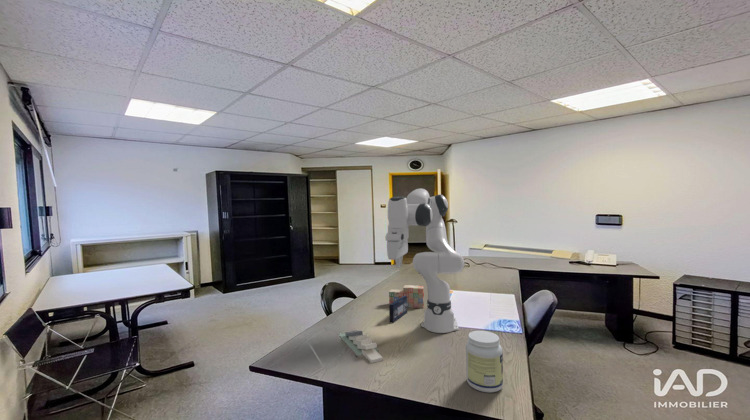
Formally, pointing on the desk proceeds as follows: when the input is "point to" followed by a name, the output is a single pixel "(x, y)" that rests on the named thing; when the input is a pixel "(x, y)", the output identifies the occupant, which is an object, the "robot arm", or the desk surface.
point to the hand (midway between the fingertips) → (398, 266)
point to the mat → (351, 345)
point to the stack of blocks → (409, 295)
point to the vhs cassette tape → (397, 309)
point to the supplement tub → (484, 361)
